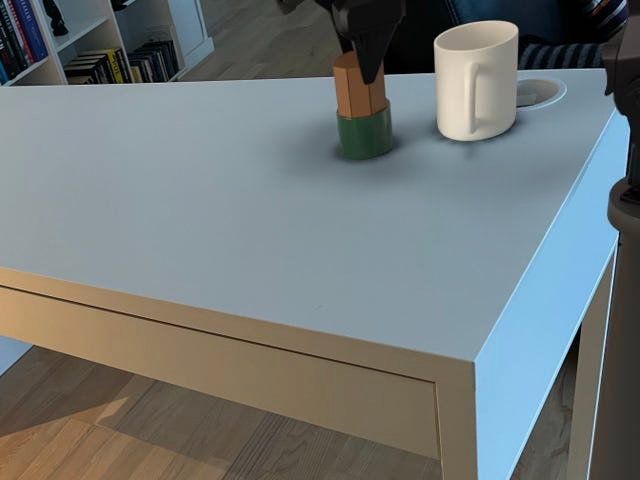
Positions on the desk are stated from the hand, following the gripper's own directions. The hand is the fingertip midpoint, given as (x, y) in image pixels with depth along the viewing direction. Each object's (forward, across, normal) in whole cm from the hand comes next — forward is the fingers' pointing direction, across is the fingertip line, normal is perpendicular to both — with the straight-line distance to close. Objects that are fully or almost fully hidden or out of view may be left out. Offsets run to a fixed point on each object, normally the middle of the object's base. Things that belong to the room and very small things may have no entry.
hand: (358, 69), depth 85 cm
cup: (+10, +3, +11) cm, 15 cm away
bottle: (+9, 0, 0) cm, 9 cm away
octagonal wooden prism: (+4, 0, 0) cm, 4 cm away
